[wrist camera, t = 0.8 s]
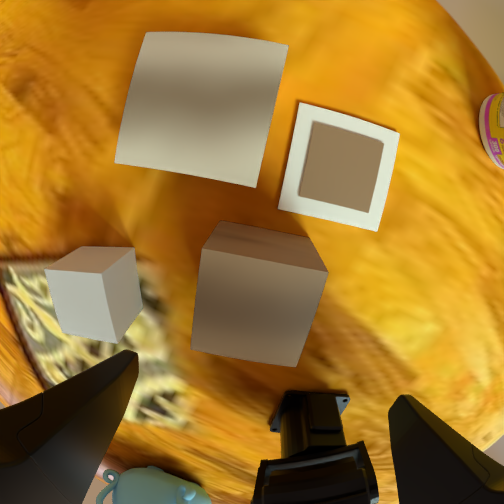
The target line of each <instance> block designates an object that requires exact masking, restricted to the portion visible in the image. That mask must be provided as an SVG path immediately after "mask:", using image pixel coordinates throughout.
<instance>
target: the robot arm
mask: <svg viewBox="0 0 504 504" xmlns="http://www.w3.org/2000/svg"><path fill="white" fill-rule="evenodd" d="M138 374H139V361H138V354H137V353H136V352H133V351H130V350H123V351H121V352H119V353H117V354H116V355H114V356H112V357H110V358H108V359H106V360H104V361H102V362H100V363H98V364H97V365H95V366H93V367H91V368H89V369H87V370H85V371H83V372H81V373H79V374H77V375H75V376H73V377H71V378H69V379H67V380H65V381H63V382H61V383H59V384H57V385H55V386H53V387H51V388H49V389H47V390H45V391H44V392H43V393H42V392H41V393H39V394H37V395H35V396H33V397H31V398H29V399H26V400H24V401H22V402H20V403H17V404H14V405H12V406H9V407H6V408H3V409H0V504H82V502H83V500H84V498H85V496H86V493H87V491H88V489H89V487H90V485H91V482H92V480H93V478H94V476H95V474H96V472H97V470H98V468H99V465H100V463H101V461H102V459H103V457H104V455H105V453H106V451H107V449H108V447H109V445H110V443H111V441H112V439H113V436H114V434H115V432H116V430H117V428H118V426H119V424H120V422H121V420H122V418H123V416H124V414H125V411H126V408H127V406H128V403H129V400H130V397H131V394H132V392H133V389H134V386H135V383H136V381H137V378H138ZM288 395H290V396H288ZM349 401H350V397H349V395H347V394H329V393H314V392H302V391H292V390H288V391H286V392H285V393H284V394H283V397H282V399H281V402H280V404H279V406H278V409H277V411H276V413H275V416H274V418H273V420H272V423H271V425H270V431H271V432H278V433H280V436H281V459H274V460H268V459H266V460H261V463H260V467H259V468H258V473H257V479H256V484H255V489H254V495H253V498H252V500H251V504H376V503H378V501H379V492H378V485H377V480H376V475H375V472H374V469H373V466H372V463H371V460H370V458H369V455H368V452H367V449H366V447H365V444H364V441H359V442H357V443H356V444H352V445H348V446H347V445H346V440H345V436H344V432H343V425H342V420H341V416H340V415H341V414H342V412H343V411H344V409H345V408H346V406H347V404H348V403H349ZM388 420H389V430H390V442H391V451H392V457H393V463H394V469H395V475H396V482H397V489H398V497H399V504H504V466H503V465H501V464H499V463H498V462H496V461H495V460H493V459H492V458H490V457H489V456H487V455H486V454H484V453H483V452H482V451H480V450H479V449H478V448H477V447H475V446H474V445H473V444H471V443H470V442H469V441H468V440H466V439H465V438H464V437H463V436H461V435H460V434H459V433H458V432H456V431H455V430H454V429H452V428H451V427H450V426H449V425H447V424H446V423H445V422H444V421H442V420H441V419H440V418H439V417H437V416H436V415H435V414H434V413H432V412H431V411H430V410H429V409H427V408H426V407H425V406H424V405H422V404H421V403H420V402H419V401H418V400H416V399H415V398H414V397H413V396H411V395H408V394H407V395H400V396H399V397H398V398H397V399H396V401H395V402H394V404H393V405H392V406H391V408H390V409H389V412H388Z"/></svg>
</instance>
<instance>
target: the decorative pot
mask: <svg viewBox="0 0 504 504" xmlns="http://www.w3.org/2000/svg"><path fill="white" fill-rule="evenodd" d="M108 475H112V476H113V477H114V479H113V481H112V480H110V479H109V478H108ZM103 479H104V480H105V481H106V482H108V483H110V484H109V485H107V486H106V487H105V488H104V489H103V490H102V491H101V492H100V493H99V494H98V496H97V498H96V504H103V500H104V498H105V497H106V495H107V494H108V493H109V492H110V491H112V490H113V493H112V502H113V504H211V500H210V498H209V496H208V494H207V493H206V491H205V490H204V489H203V488H201V487H199V485H198V484H196V483H193V482H188V481H186V480H183V479H181V478H178V477H176V476H173V475H170V474H168V473H165V472H164V471H163V470H162V469H160V468H158V467H155V466H147V468H132V469H129V470H127V471H125V472H123V473H121V474H119V473H118V472H117V471H115V470H111V469H107V470H105V471H104V473H103Z"/></svg>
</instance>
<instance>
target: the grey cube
mask: <svg viewBox="0 0 504 504" xmlns="http://www.w3.org/2000/svg"><path fill="white" fill-rule="evenodd" d="M44 270H45V274H46V278H47V282H48V286H49V290H50V294H51V298H52V301H53V305H54V308H55V311H56V314H57V318H58V321H59V324H60V327H61V330H62V333H66V334H71V335H75V336H80V337H85V338H90V339H95V340H100V341H105V342H111V343H117V344H118V342H119V341H120V340H121V338H122V337H123V335H124V334H125V332H126V331H127V330H128V328H129V327H130V325H131V324H132V323H133V321H134V320H135V318H136V317H137V316H138V314H139V313H140V312H141V310H142V309H143V304H142V298H141V292H140V285H139V279H138V272H137V264H136V256H135V248H134V247H93V246H81V247H79V248H78V249H76V250H74V251H73V252H71V253H69V254H68V255H66V256H64V257H63V258H61V259H60V260H58V261H56V262H55V263H53V264H52V265H50V266H48V267H47V268H45V269H44Z"/></svg>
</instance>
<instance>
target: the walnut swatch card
mask: <svg viewBox="0 0 504 504" xmlns="http://www.w3.org/2000/svg"><path fill="white" fill-rule="evenodd" d="M399 135H400V133H397V132H394V131H392V130H389V129H387V128H384V127H381V126H378V125H375V124H373V123H370V122H367V121H364V120H361V119H358V118H354V117H351V116H348V115H345V114H341V113H338V112H335V111H331V110H327V109H324V108H320V107H316V106H312V105H308V104H304V103H299V107H298V112H297V117H296V122H295V127H294V132H293V137H292V142H291V147H290V152H289V157H288V162H287V167H286V171H285V176H284V181H283V186H282V190H281V195H280V200H279V205H278V209H280V210H284V211H289V212H294V213H299V214H303V215H308V216H312V217H317V218H321V219H326V220H330V221H335V222H339V223H343V224H347V225H352V226H356V227H360V228H364V229H368V230H372V231H376V232H377V230H378V227H379V223H380V220H381V216H382V212H383V208H384V205H385V201H386V197H387V193H388V188H389V184H390V180H391V175H392V171H393V166H394V161H395V157H396V151H397V146H398V141H399Z"/></svg>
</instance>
